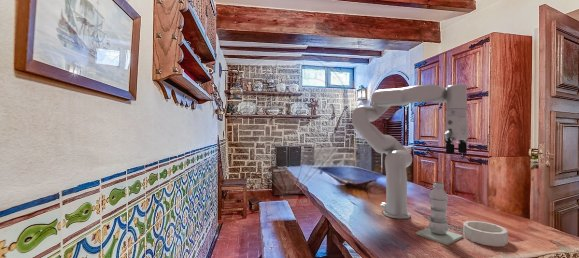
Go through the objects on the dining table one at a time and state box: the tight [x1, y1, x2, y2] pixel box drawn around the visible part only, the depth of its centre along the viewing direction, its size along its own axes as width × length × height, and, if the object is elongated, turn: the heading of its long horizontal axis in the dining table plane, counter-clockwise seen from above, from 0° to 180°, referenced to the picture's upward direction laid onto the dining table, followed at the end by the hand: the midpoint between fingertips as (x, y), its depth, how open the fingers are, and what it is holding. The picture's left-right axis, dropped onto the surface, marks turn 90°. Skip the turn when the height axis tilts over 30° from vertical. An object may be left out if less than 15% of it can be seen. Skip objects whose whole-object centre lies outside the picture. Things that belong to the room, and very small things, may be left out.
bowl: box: [462, 220, 509, 247], centre depth 102 cm, size 13×13×4 cm
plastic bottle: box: [428, 181, 449, 235], centre depth 105 cm, size 6×7×20 cm
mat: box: [415, 227, 464, 246], centre depth 105 cm, size 12×12×1 cm
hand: (456, 153), depth 114 cm, fingers open, 9 cm apart
